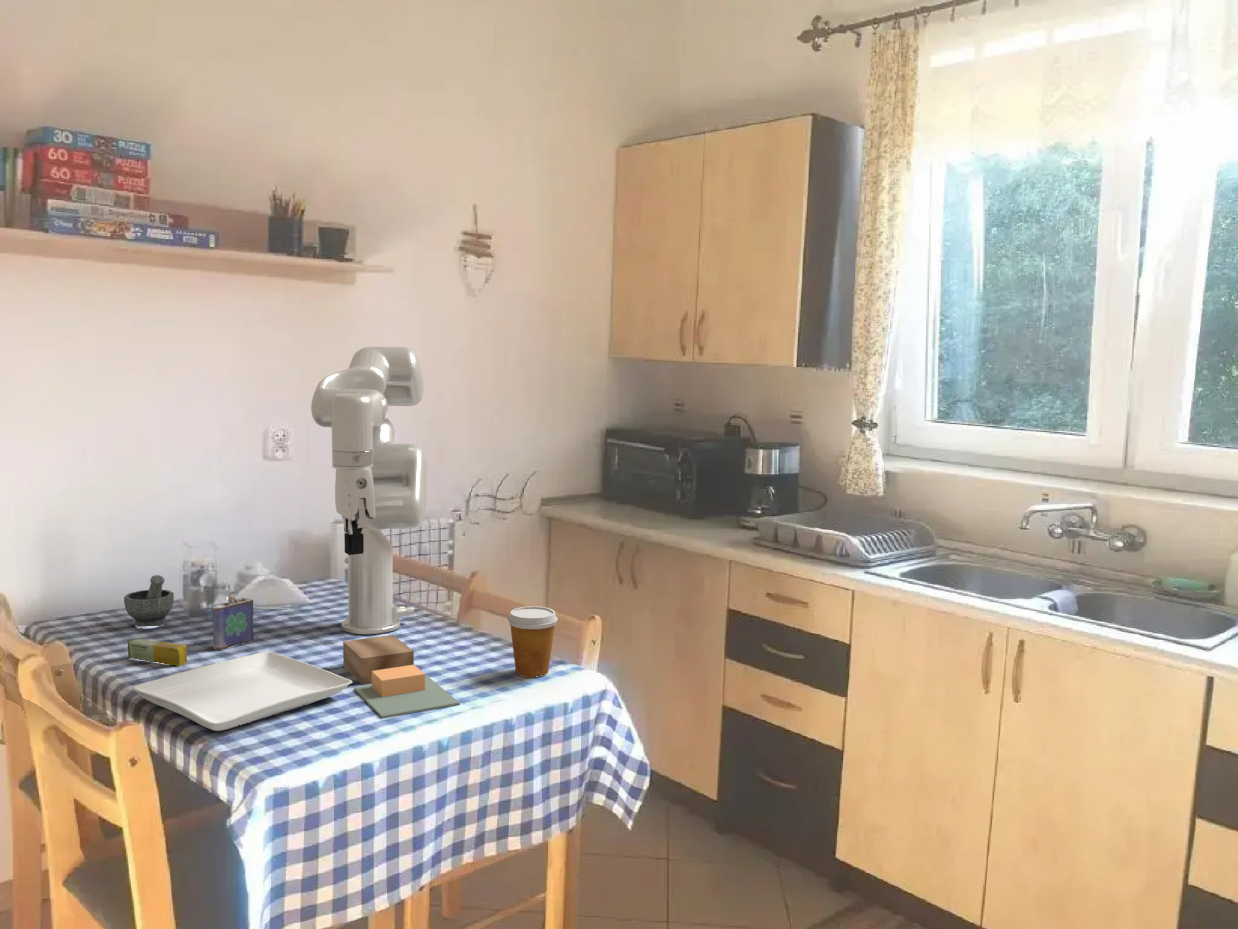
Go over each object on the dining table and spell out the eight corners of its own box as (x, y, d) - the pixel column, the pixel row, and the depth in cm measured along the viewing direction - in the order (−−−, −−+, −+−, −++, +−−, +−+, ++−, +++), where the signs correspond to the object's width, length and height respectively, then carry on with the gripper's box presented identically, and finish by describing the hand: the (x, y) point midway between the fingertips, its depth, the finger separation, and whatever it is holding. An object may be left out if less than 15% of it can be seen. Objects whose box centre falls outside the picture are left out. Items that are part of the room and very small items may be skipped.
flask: (217, 651, 209) (216, 599, 208) (209, 649, 211) (207, 597, 209) (256, 641, 217) (255, 591, 215) (247, 638, 218) (246, 589, 217)
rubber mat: (427, 678, 195) (427, 676, 195) (459, 704, 182) (459, 702, 182) (354, 689, 188) (354, 687, 188) (382, 718, 175) (382, 716, 175)
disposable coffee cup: (563, 667, 203) (564, 608, 202) (546, 683, 194) (547, 620, 193) (517, 662, 206) (518, 604, 204) (499, 677, 197) (500, 616, 195)
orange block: (425, 674, 187) (425, 690, 188) (413, 664, 193) (413, 680, 193) (382, 680, 183) (382, 697, 184) (371, 671, 188) (371, 687, 189)
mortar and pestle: (119, 624, 226) (117, 571, 225) (162, 617, 233) (161, 564, 231) (139, 635, 218) (136, 580, 217) (183, 627, 225) (181, 573, 224)
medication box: (127, 661, 202) (126, 641, 202) (137, 657, 205) (136, 637, 204) (179, 668, 199) (178, 648, 198) (188, 663, 202) (187, 644, 201)
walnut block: (393, 659, 206) (393, 634, 206) (413, 676, 196) (413, 651, 196) (343, 666, 201) (343, 641, 201) (361, 684, 191) (361, 658, 190)
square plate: (268, 667, 201) (267, 648, 200) (355, 700, 184) (355, 679, 184) (129, 704, 180) (129, 682, 180) (214, 745, 163) (213, 721, 163)
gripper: (386, 463, 191) (386, 560, 194) (358, 452, 204) (360, 543, 207) (346, 466, 187) (347, 564, 190) (321, 454, 200) (322, 547, 202)
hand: (354, 553), depth 198 cm, fingers closed
